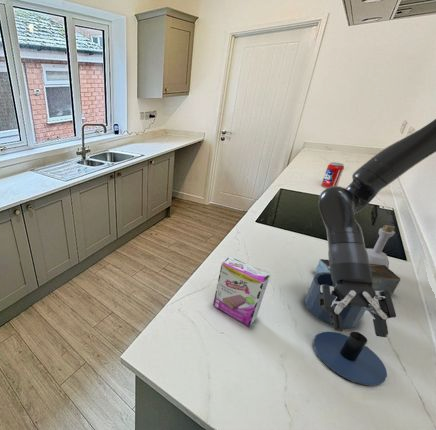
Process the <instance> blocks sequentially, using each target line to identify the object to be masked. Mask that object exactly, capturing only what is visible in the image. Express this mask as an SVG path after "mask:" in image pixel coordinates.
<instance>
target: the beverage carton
mask: <svg viewBox="0 0 436 430" xmlns="http://www.w3.org/2000/svg"><path fill="white" fill-rule="evenodd" d="M370 268H371V274H372V279H373V283H372V287H373V289H374V290H375V291H382V290H384V291H385V290H387V291H389V292H390V294H391V295H394V293H395V290H396V289H397V287H398V285H399V283H400V282H401V277H399V276H398V275H397V274H396V273H394V271H392V270H391V269H390V268H387V267H386V266H385V265H378V264H370ZM322 272H331V271H330V264H329V259H324V258H319V261H318V264H317V266H316V269H315V272H314V273H315V275H316V274H318V273H322Z"/></svg>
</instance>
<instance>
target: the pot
mask: <svg viewBox="0 0 436 430" xmlns="http://www.w3.org/2000/svg"><path fill="white" fill-rule="evenodd" d="M326 284H327V285H329V286H333V282H332V279H331V272H322V273H318V274H316V273H315V275H314V276H313V278H312V280H311V283H310V286H309V288H308V291H307V293H306V296H305V298H304V305H305V307H306V309H307V310H308V311H309V313H311V315H313V316H314V317H315V318H317V319H318V320H320V321H322V322H324V323H325V324H328V325H330V326H331V320H330V314H329V313H328V312H327V311H325V310H321V309H320V307H319V289H318V286H319V285H326ZM336 297H337V296H336V295H335V294H334V293H333V292H332V294H330V299H331V305H332V302H333V301H334V300H335V298H336ZM366 311H367V310H365V309H364V308H363V307H356V306H346V307H345V308H343V310H342V311H341V312H340V313H339V315H341V318H342V325H343V329H351V328H355V327H357V326H358V325H359V323H360V321H361V319H362V318H363V316H364V314H365V313H366Z"/></svg>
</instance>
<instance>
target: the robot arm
mask: <svg viewBox="0 0 436 430" xmlns="http://www.w3.org/2000/svg"><path fill="white" fill-rule="evenodd" d="M435 153H436V118H435V119H433V120H432V121H430V122H429V123H427V124H426V125H424V126H422V127H421V128H419V129H418V130H416V131H414V132H412V133H410V134H409V135H407V136H405V137H403V138H401V139H399V140H397V141H395V142H393V143H392V144H390V145H388V146H386V147H385V148H383V149H381V150H380V151H378V153H376V154H374V155H373V156H372V157H371V158H370V159H368V160H367V161H366V162H365V163H363V164H362V165H361V166H360V167H359V168H357V169H356V170H354V172H353V173H352V181H351V182H350V183H349V185H347V186H346V187H342V186H338V185H337V186H333V187H329V188H324V190H322V192H321V193H320V194H319V196H318V202H317V205H318V210H319V213H320V216H321V218H322V222H323V225H324V228H325V230H326V239H327V246H328V249H327V250H328V251H327V253H328V254H327V255H328V260H329V264H330V271H331V279H332V282H333V286H329V285H327V284H326V285H319V286H318V289H319V307H320V309H321V310H325V311H327V312H328V313H329V314H330V320H331V325H330V326H331V328H332V329H333V330H334V332H339V333H343V332H344V328H343V325H342V318H341V315H339V313H340V312H341V311H342V310H343V308H345V307H346V306H356V307H363V308H364V309H365V310H366V311H367V312H368V313H369V314H370V315H371V317H373V318H372V322H373V328H374V333H375V336H376V337H379V338H387V336H388V335H389V329H388V324H387V320H388V319H391V318H392V319H394V318H396V317H397V314H396V310H395V305H394V302H393V298H392V294H390V292H389V291H387V290H385V291H384V290H382V291H375V290H374V289H373V287H372V283H373V279H372V274H371V268H370V263H369V257H368V253H367V251H366V243H365V237H364V233H363V229H362V227H361V225H360V224H359V222H358V221H357V220H356V216H355V215H356V214H359V213H360V212H361V211H362V210H363V209H365V208H366V206H367V205H369V204H370V202H372V200H373V199H375V197H377V195H378V193H380V191H382V190H383V189H385V188H386V187H387V186H388V185H390V184H392V182H394V181H396V180H397V179H398V178H399V177H401V176H403V175H404V174H405V173H407V172H409V170H411V169H412V168H414V167H415V166H417V165H418V164H419V163H421V162H422V161H424V160H425V159H427V158H428V157H431V156H432V155H434V154H435ZM332 292H333V293H334V294H335V295H336V296H337V297H336V298H335V300H334V301H333V302H332V305H331V299H330V294H332ZM374 299H376V300H377V302H378V303H377V302H376V301H375V300H374Z"/></svg>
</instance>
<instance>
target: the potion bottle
mask: <svg viewBox="0 0 436 430" xmlns="http://www.w3.org/2000/svg"><path fill="white" fill-rule="evenodd" d="M395 228H396V226H394V225H385V224H383V226H382V227H380V228H379V229H378V235H379V237H378V238H377V241H376V242H375V245H374V246H373V248H369V247H368V248H366V247H365V248H366V251H367V253H368V257H369V263H370V264H378V265H385V266H386V267H387V268H388V269H390V260H389V257H388V255H387V253H385V252H383V250H384V248H385V246H386V244H387V242H388V240H389V239H390V238H392V237H394V235H395V234H396V232H395Z"/></svg>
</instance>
